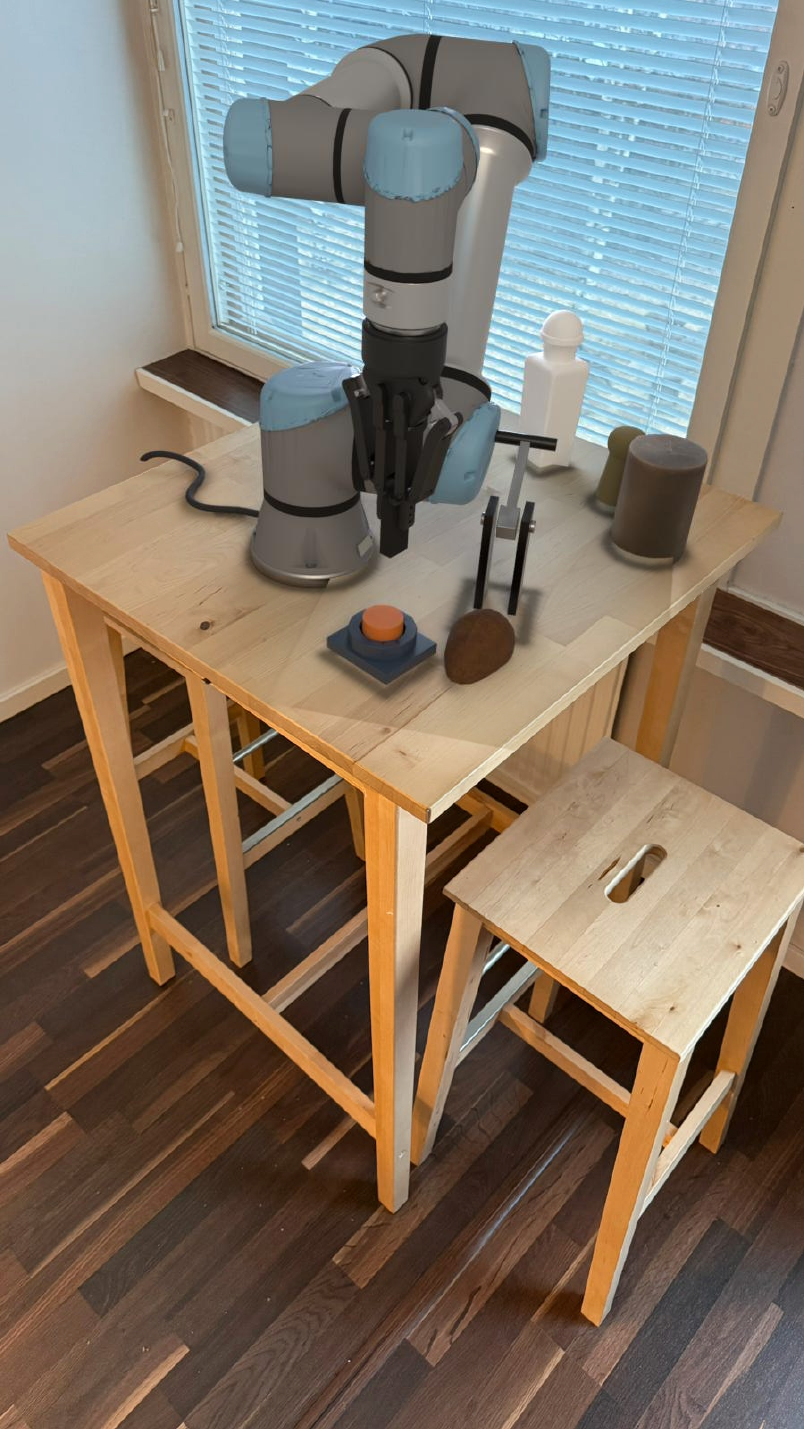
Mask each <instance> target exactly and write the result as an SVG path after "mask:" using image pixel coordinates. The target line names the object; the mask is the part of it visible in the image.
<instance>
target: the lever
mask: <svg viewBox="0 0 804 1429" xmlns="http://www.w3.org/2000/svg"><path fill="white" fill-rule="evenodd" d="M557 441H558V439H557V438H550V437H543V436H537V435H530V434H523V433H519V432H515V431H509V430H503V429H499V430H497V431H496V435H495V444H503V445H508V446H515V447H516V446H519V451H518V455H517V454H516V456H517V459H515V460H516V461H515V466H514V470H513V474H512V478H511V483H510V486H509V487H510V488H509V492H508V496H507V501H506V504H501V505H500V507H499V510H498V515H497V520H496V528H495V538H498V539H504V540H509V541H516V538H517V534H518V529H519V526H520V521H521V507H518V504H519V500H520V496H521V490H522V486H523V480H524V476H525V472H526V467H527V463H528V460H527V458H528V453H529V449H530V448H535V449H541V450H548V451H554V452H555V451H556V447H557Z"/></svg>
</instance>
